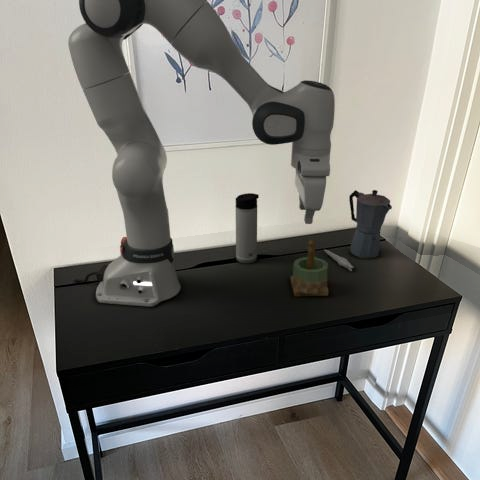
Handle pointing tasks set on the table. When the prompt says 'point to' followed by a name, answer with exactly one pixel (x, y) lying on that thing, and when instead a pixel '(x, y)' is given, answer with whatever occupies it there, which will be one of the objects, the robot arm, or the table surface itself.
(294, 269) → the sage ring
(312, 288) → the birch ring
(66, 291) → the table surface
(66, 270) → the table surface
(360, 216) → the moka pot
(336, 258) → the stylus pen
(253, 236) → the travel mug
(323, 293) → the peg stand
